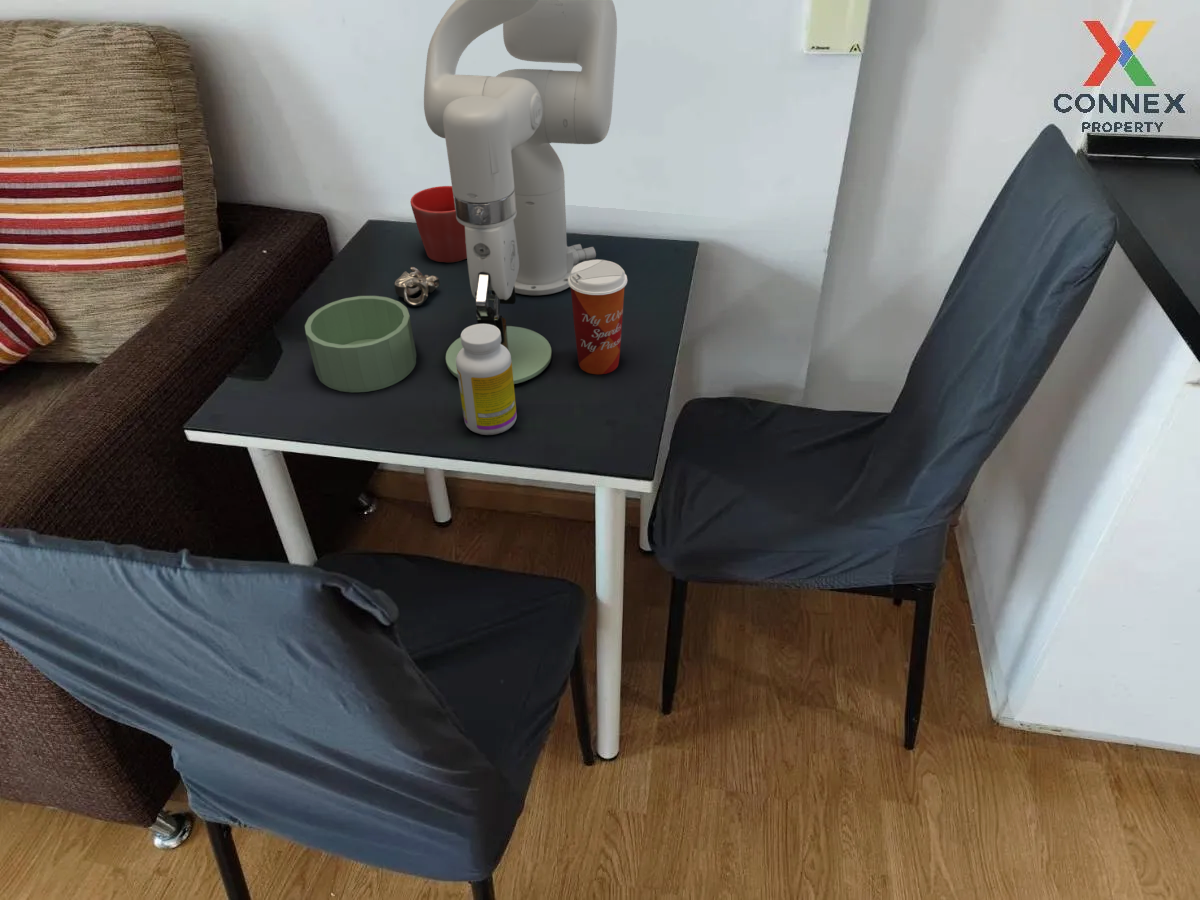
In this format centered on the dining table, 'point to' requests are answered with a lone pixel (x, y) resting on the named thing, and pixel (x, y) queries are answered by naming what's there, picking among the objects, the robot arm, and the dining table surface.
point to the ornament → (415, 286)
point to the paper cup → (597, 313)
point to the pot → (361, 343)
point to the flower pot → (439, 224)
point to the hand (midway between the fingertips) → (498, 321)
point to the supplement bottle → (486, 380)
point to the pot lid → (515, 352)
